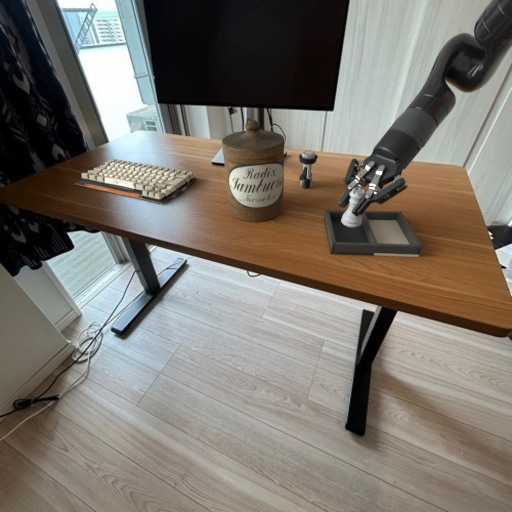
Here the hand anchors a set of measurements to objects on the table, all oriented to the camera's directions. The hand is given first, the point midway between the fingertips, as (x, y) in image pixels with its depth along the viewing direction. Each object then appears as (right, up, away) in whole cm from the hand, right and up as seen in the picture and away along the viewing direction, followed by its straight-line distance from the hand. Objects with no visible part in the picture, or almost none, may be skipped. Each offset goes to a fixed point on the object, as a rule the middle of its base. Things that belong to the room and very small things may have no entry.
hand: (347, 210), depth 57 cm
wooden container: (-20, +3, +17) cm, 26 cm away
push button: (-4, +13, +27) cm, 30 cm away
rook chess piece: (+2, -2, +3) cm, 5 cm away
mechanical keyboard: (-59, +14, +32) cm, 68 cm away
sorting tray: (+6, -5, +5) cm, 9 cm away
